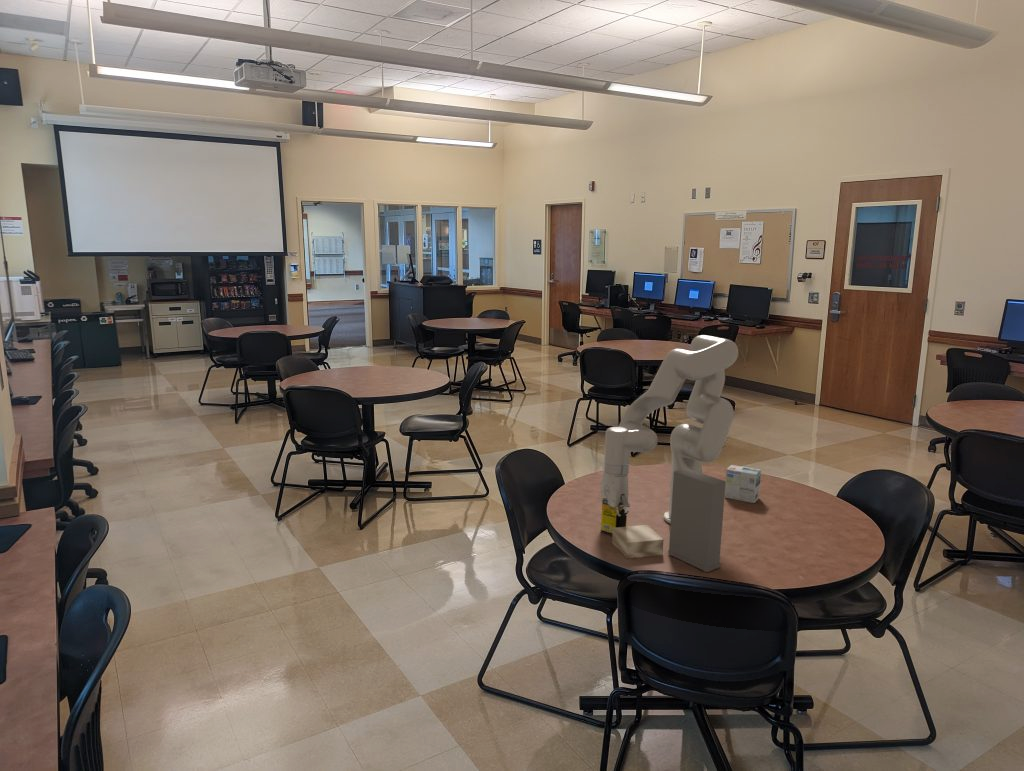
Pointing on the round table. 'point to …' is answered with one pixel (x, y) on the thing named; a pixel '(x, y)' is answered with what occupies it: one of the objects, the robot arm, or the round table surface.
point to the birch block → (637, 541)
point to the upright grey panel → (697, 519)
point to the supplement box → (608, 517)
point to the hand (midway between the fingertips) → (613, 521)
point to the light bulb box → (742, 483)
